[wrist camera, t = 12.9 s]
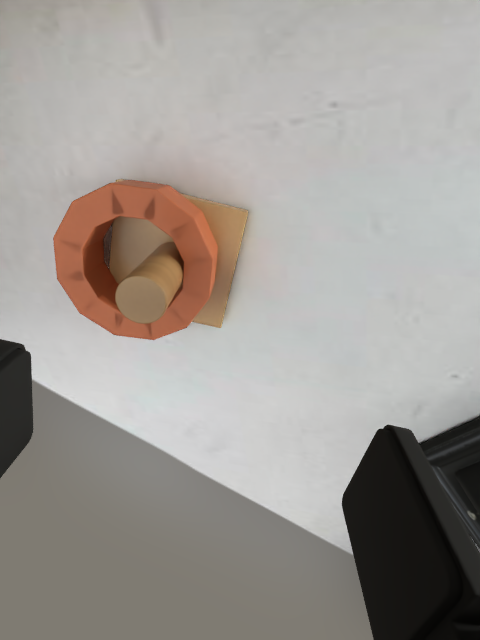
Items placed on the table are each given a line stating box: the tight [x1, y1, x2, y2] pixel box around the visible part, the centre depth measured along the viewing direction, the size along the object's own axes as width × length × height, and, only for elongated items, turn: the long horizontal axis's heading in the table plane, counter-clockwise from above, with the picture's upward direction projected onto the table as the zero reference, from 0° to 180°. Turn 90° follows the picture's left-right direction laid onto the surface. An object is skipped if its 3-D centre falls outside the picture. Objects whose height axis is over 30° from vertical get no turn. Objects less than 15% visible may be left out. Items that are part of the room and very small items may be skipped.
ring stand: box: [109, 179, 248, 328], centre depth 20 cm, size 8×8×8 cm
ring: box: [53, 180, 218, 340], centre depth 21 cm, size 9×9×3 cm
